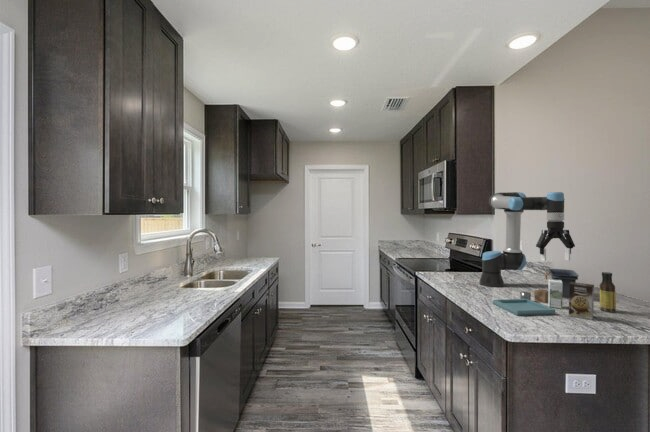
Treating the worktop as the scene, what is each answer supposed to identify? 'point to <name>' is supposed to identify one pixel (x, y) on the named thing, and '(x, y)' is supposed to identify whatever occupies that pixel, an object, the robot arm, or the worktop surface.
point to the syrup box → (555, 293)
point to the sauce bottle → (607, 293)
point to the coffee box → (581, 300)
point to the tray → (523, 307)
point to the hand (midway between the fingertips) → (555, 260)
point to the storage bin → (563, 279)
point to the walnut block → (541, 296)
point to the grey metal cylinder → (525, 295)
